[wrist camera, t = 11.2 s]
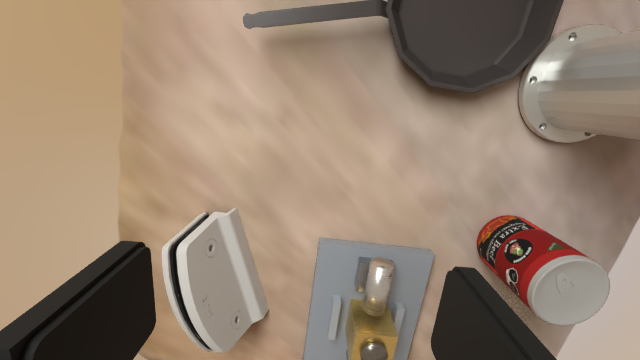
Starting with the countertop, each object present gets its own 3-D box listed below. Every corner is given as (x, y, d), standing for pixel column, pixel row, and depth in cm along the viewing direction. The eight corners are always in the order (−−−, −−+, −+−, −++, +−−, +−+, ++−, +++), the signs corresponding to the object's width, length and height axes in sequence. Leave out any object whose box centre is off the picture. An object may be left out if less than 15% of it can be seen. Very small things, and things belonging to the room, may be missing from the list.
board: (319, 237, 39) (319, 249, 36) (430, 249, 40) (438, 261, 37) (302, 361, 45) (301, 379, 42) (399, 370, 46) (404, 389, 43)
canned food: (505, 202, 38) (577, 243, 27) (545, 237, 39) (628, 289, 29) (462, 243, 40) (514, 298, 29) (501, 276, 41) (565, 339, 31)
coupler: (380, 332, 42) (391, 374, 35) (345, 328, 42) (349, 370, 35) (386, 302, 40) (399, 341, 34) (350, 298, 40) (356, 337, 34)
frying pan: (538, 85, 34) (564, 84, 31) (263, 112, 35) (257, 115, 31) (558, -104, 29) (591, -132, 26) (237, -68, 30) (226, -90, 26)
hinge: (269, 311, 42) (227, 376, 34) (242, 309, 44) (195, 369, 35) (236, 205, 38) (177, 246, 29) (207, 207, 40) (143, 247, 31)
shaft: (358, 242, 39) (365, 268, 34) (391, 246, 40) (403, 272, 34) (351, 283, 41) (356, 314, 35) (382, 286, 41) (393, 318, 36)
